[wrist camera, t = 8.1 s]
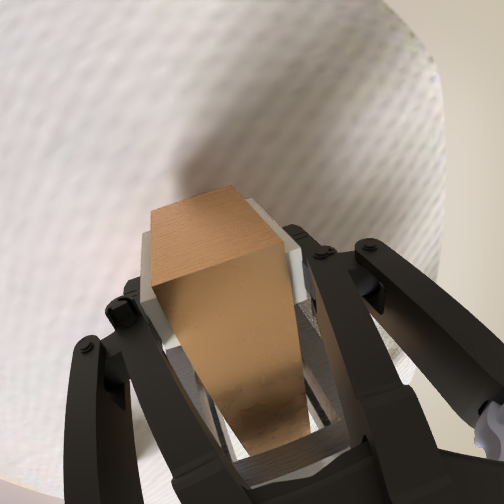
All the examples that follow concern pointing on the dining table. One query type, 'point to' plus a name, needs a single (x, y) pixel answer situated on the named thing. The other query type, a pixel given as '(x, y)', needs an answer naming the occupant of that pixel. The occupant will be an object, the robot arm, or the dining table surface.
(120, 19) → the dining table surface
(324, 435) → the collar
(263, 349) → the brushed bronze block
